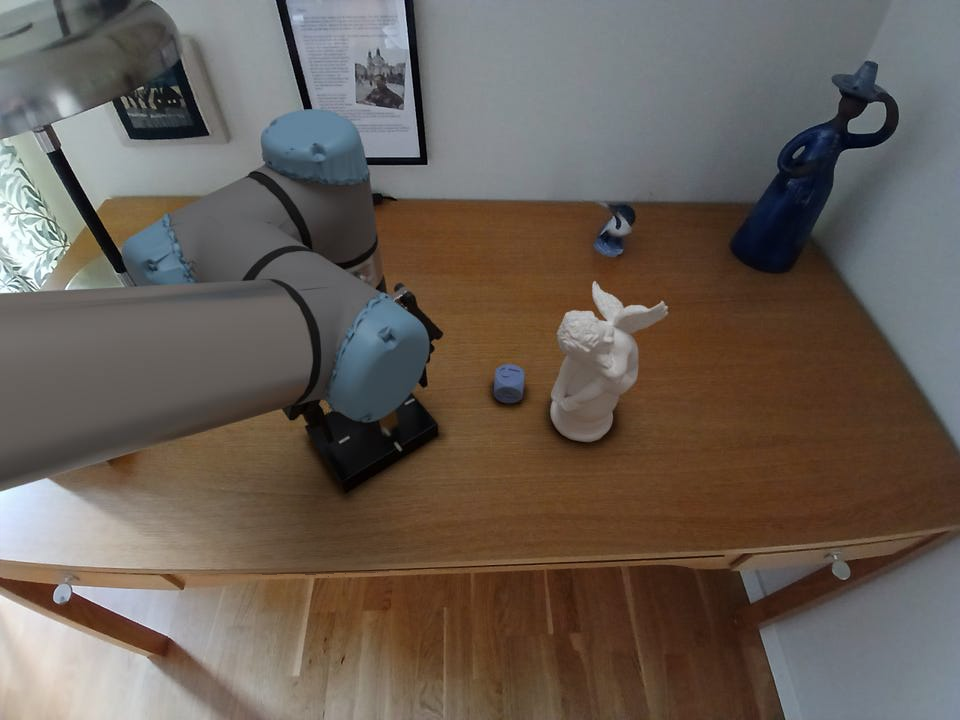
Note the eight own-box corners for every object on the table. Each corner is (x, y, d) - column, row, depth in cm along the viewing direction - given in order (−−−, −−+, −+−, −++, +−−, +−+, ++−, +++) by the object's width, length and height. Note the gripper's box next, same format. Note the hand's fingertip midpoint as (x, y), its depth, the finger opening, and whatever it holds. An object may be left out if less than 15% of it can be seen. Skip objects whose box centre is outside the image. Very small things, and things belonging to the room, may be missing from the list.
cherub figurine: (543, 443, 74) (565, 331, 57) (536, 370, 82) (554, 252, 65) (634, 443, 74) (683, 331, 57) (618, 370, 82) (657, 253, 65)
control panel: (348, 497, 69) (343, 485, 66) (307, 435, 74) (301, 422, 72) (441, 438, 74) (440, 425, 72) (396, 385, 80) (394, 371, 77)
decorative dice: (521, 404, 78) (523, 387, 75) (493, 402, 78) (494, 385, 75) (523, 382, 80) (525, 364, 77) (495, 379, 81) (496, 362, 77)
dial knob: (356, 407, 73) (346, 371, 68) (371, 398, 74) (363, 362, 68) (384, 444, 70) (376, 409, 64) (400, 434, 71) (393, 398, 65)
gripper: (235, 365, 47) (296, 483, 63) (471, 249, 56) (471, 377, 73) (202, 313, 50) (268, 438, 67) (429, 213, 60) (438, 343, 77)
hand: (374, 406), depth 70 cm, fingers open, 13 cm apart
